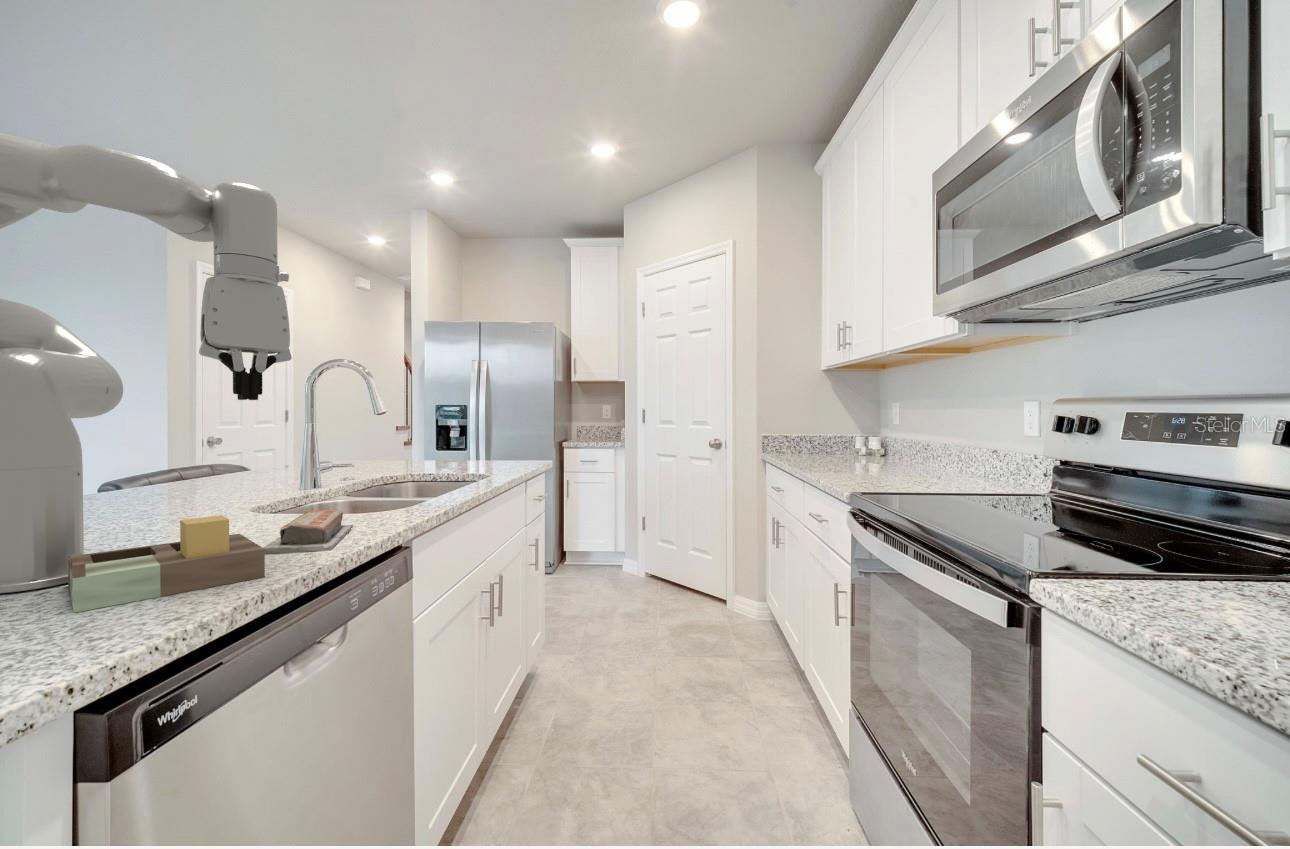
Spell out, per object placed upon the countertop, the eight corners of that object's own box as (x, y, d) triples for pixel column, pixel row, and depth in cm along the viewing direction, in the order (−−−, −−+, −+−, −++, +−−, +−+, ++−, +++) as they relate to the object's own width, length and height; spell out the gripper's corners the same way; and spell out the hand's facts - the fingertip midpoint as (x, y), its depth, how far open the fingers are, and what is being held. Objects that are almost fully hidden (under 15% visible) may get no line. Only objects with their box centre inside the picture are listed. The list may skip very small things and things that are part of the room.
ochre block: (180, 552, 73) (180, 519, 73) (221, 546, 77) (221, 515, 77) (186, 558, 70) (186, 524, 70) (229, 552, 74) (229, 519, 74)
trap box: (68, 586, 71) (67, 545, 71) (239, 558, 85) (239, 524, 85) (73, 612, 62) (72, 565, 62) (264, 576, 76) (264, 538, 76)
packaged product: (295, 509, 105) (352, 506, 108) (295, 534, 105) (353, 530, 108) (262, 528, 88) (331, 524, 91) (262, 557, 88) (331, 553, 91)
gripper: (297, 287, 87) (298, 401, 87) (174, 267, 75) (175, 399, 76) (313, 279, 82) (314, 400, 82) (183, 257, 71) (185, 398, 71)
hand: (247, 399), depth 79 cm, fingers closed
